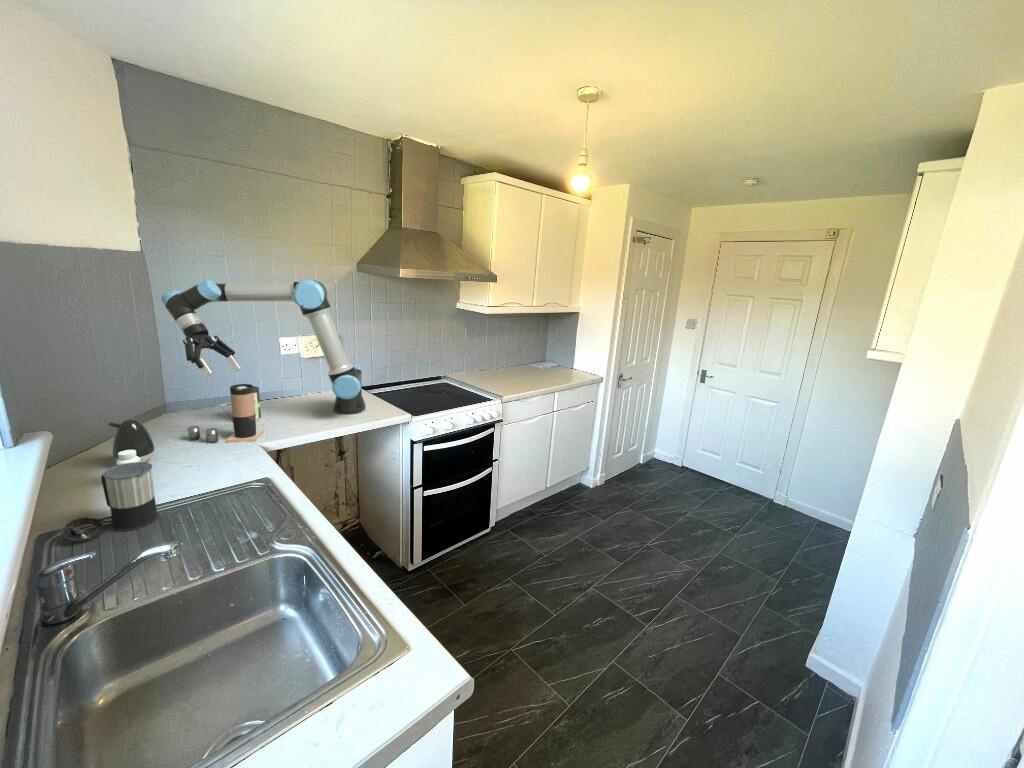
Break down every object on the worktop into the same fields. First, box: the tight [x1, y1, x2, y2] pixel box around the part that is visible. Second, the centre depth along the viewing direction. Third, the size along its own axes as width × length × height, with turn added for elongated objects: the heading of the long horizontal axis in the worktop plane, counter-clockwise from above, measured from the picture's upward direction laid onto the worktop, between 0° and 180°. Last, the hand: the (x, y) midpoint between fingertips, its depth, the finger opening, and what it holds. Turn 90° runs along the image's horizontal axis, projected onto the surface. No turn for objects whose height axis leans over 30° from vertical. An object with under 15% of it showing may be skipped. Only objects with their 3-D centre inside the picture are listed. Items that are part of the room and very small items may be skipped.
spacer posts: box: [187, 425, 219, 444], centre depth 164 cm, size 17×20×5 cm
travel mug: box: [229, 383, 257, 438], centre depth 161 cm, size 8×8×20 cm
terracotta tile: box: [225, 429, 265, 443], centre depth 164 cm, size 10×10×1 cm
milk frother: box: [61, 462, 160, 544], centre depth 102 cm, size 14×16×15 cm
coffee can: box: [253, 385, 262, 422], centre depth 181 cm, size 10×10×14 cm
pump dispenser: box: [108, 418, 155, 463], centre depth 135 cm, size 10×10×15 cm
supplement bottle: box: [115, 450, 141, 466], centre depth 124 cm, size 5×5×10 cm
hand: (223, 372), depth 164 cm, fingers open, 13 cm apart
